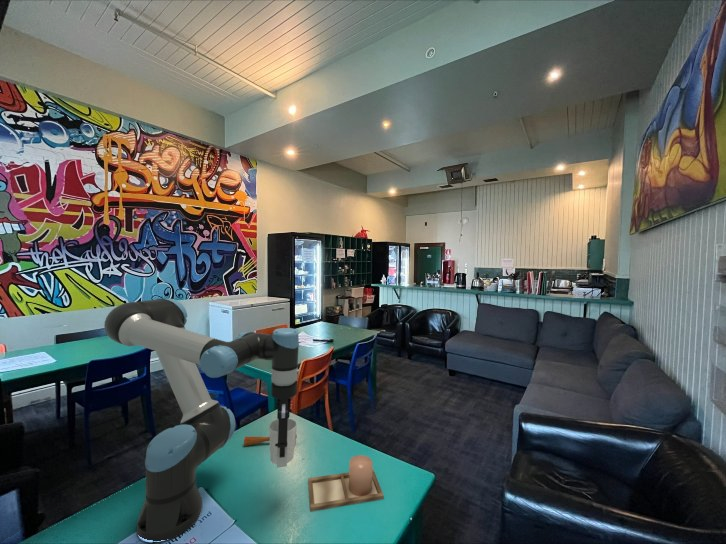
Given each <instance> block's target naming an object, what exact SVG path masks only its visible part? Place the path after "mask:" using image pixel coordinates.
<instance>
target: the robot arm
mask: <svg viewBox="0 0 726 544" xmlns="http://www.w3.org/2000/svg"><path fill="white" fill-rule="evenodd" d="M187 318H188V312H187V310H186V307H185V306H184V305H183V303H182V302H180V301H179V300H176V299H174V298H156V299H149V300H140V301H129V302H126V303H122V304H120V305H117V306H116V307H115V308H113V309H111V311H110V312H109V313H108V314H107V315H106V318H105V320H104V325H103V326H104V331H105V333H106V335H107V336H108V337H109V338H110V339H111V340H112V341H114V342H116V343H118V344H120V345H124V346H126V347H127V346H128V347H135V346H140V347H143V348H146V349H149V350H152V351H155V352H156V355H157V357H158V360H159V362H160V365H161V366H162V369H163V371H164V374H165V376H166V378H167V381H168V383H169V385H170V387H171V390H172V392H173V394H174V396H175V399H176V401H177V403H178V406H179V408H180V411H181V412H182V417H181V420H180V424H179V425H178V424H177V425H175V426H174V427H169V428H166V429H164V430H162V431H161V432H159V433H158V434H156V435H155V436H154V437H153V438H152V440H150V441H149V444H148V446H147V448H146V454H145V459H144V466H145V498H144V499H145V500H144V503H143V505H142V508H141V511H140V513H139V516H138V518H137V521H136V522H137V523H136V535H137V534H138V535H139V536H140V537H142V538H144V539H147V540H153V541H161V540H167V539H170V540H173V539H174V538H177V537H179V536H180V535H182V534H184V533H185V532H186V531H188V530H189V529H190V528H191V527H192V526H193V525H194V524H195V523H196V522H197V521H198V519H199V518H198V517H200V516H199V515H201V514H202V510H201V509H203V500H202V499H203V498H202V496H201V493H200V490H199V488H198V486H197V483H196V469H197V468H198V467H199V466H200V465H202V463H204V462H205V461H206V460H208V459H209V458H210V457H212V455H213V454H215V453H216V452H217V451H218V450H220V449H222V448H224V446H225V445H226V444H227V443H228V442H229V441H230V440H231V439H232V437H233V435H234V433H235V431H236V419H235V415H234V413H233V412H232V410H231V409H230V408H227V406H223V405H220V402H219V401H218V400H215V399H212V397H211V396H210V392H209V391H208V389H207V387H206V385H205V382H204V379H203V378H202V375H201V373H200V370H199V368H198V367H197V365H199V366H200V369H201V371H202V372H203V373H204V374H205V376H206V377H209V378H211V379H217V378H220V377H222V376H226V375H229V374H231V373H232V372H234V371H235V370H237V369H239V368H242V367H243V366H245V365H248V364H249V363H252V362H253V361H256V360H264V361H271V379H270V381H271V386H270V387H271V388H270V395H271V397H272V398H274V399H277V400H276V401H277V402H276V410H277V414H276V415H277V416H276V420H277V419H279V427H278V443H277V444H275V446H278V447H277V465H276V468H286V467H287V466H288V463H287V425H288V418H290V412H291V411H290V409H291V408H292V407H291V404H292V403H291V401H292V398H294V397H295V396H296V395H297V393H298V373H300V372H301V370H300V369H299V347H300V342H299V341H300V340H299V331H298V330H297V329H295V328H294V327H293V328H292V327H286V328H285V327H282V328H276V329H274V330H273V332H272V334H270V333H269V334H268V333H261V332H255V331H246V332H245V331H243V332H240V333H239V334H238V335H237V336H236V337H235V339H233V340H230V341H224V340H222V339H218V338H215V337H211V336H207V335H204V334H201V333H197V332H194V331H191V330H188V329H186V327H185V326H186V324H187V321H188V319H187ZM200 513H201V514H200ZM187 529H188V530H187ZM172 538H173V539H172ZM167 541H168V540H167Z"/></svg>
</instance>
